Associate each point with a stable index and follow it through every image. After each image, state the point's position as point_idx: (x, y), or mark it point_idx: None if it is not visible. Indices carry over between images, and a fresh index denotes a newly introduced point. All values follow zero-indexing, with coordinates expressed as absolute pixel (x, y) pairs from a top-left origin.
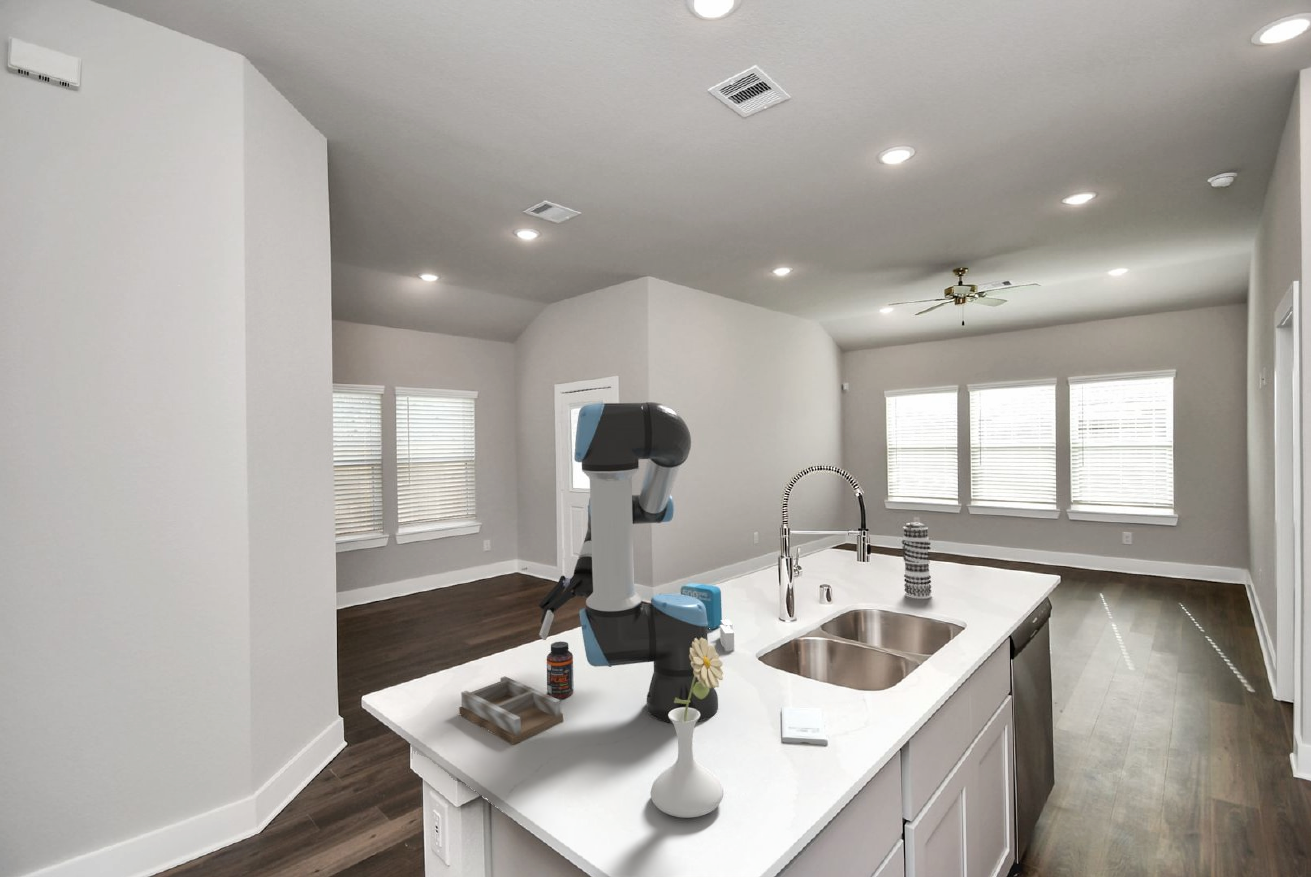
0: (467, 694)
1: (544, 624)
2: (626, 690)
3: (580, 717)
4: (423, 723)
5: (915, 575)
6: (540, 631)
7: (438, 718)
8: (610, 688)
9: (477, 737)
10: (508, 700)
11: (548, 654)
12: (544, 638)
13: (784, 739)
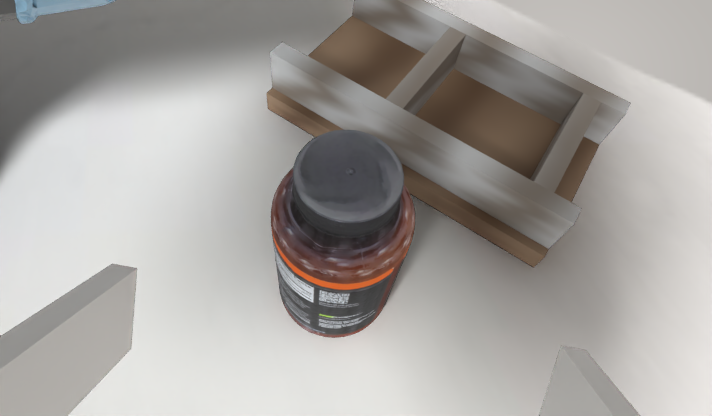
0: (598, 89)
1: (613, 404)
2: None
3: (218, 129)
4: (650, 102)
5: None
6: (595, 365)
7: (635, 124)
8: None
9: None
10: (441, 55)
11: (407, 197)
12: (545, 396)
13: None
